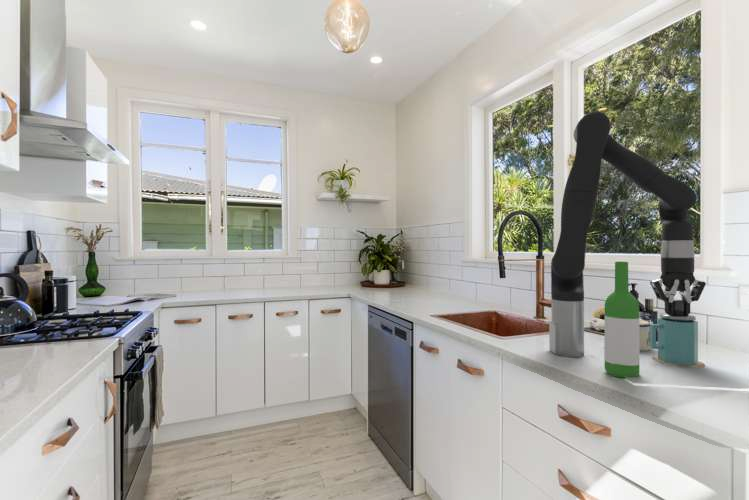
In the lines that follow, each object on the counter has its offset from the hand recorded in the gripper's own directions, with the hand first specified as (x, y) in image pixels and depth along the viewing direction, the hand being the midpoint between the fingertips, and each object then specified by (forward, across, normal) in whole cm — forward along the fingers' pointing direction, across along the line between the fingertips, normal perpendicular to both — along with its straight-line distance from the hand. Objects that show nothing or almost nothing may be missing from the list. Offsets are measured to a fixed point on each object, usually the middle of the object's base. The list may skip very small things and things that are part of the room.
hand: (677, 315), depth 107 cm
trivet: (+14, 0, 0) cm, 14 cm away
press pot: (+13, -2, 0) cm, 14 cm away
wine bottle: (+14, -21, -13) cm, 29 cm away
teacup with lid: (+14, -4, +17) cm, 23 cm away
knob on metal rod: (+11, 0, 0) cm, 11 cm away
